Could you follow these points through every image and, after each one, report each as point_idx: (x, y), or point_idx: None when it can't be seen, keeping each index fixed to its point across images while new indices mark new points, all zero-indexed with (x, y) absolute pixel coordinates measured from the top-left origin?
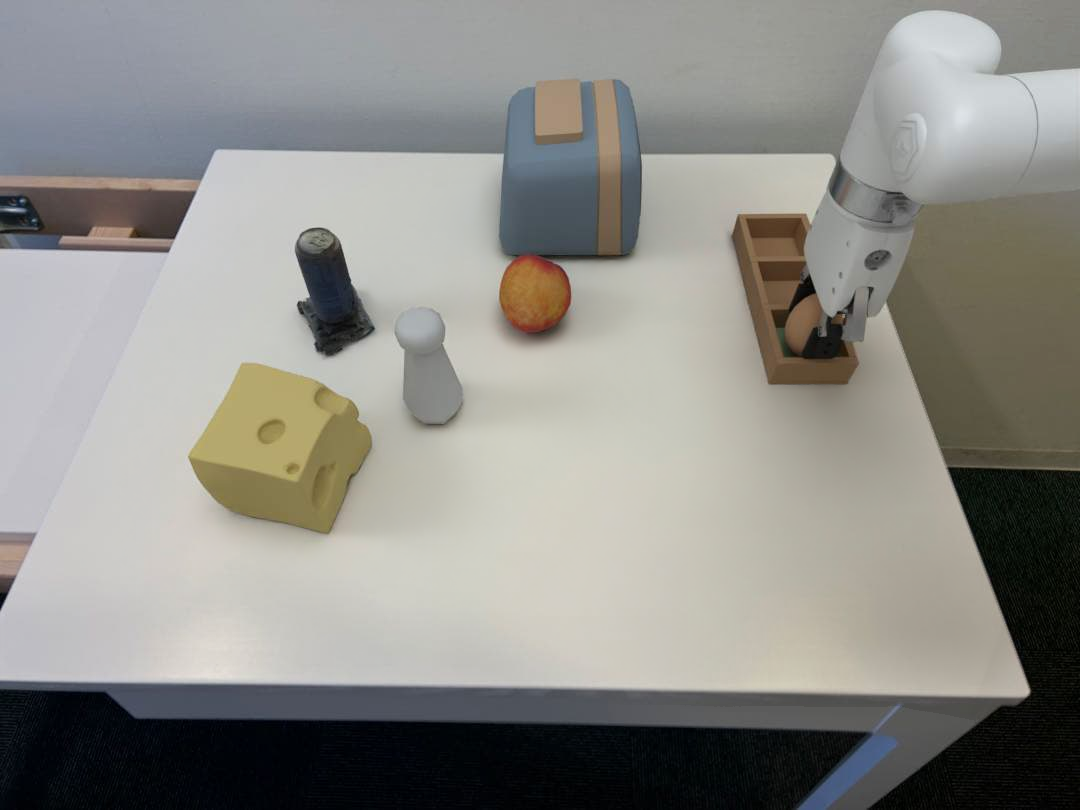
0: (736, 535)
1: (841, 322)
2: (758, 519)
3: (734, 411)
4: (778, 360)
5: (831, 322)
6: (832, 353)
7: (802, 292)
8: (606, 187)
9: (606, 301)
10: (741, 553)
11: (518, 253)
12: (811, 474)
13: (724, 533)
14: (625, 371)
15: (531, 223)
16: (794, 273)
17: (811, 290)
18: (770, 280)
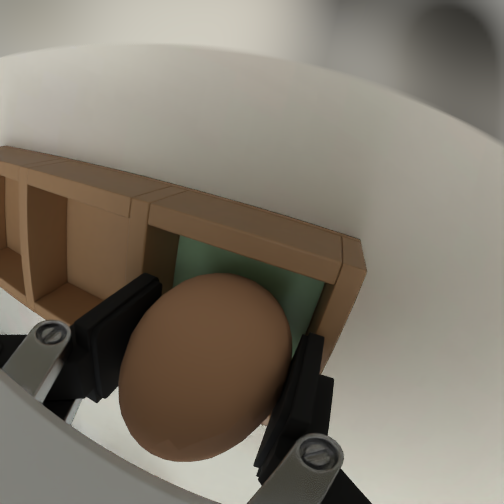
0: (469, 476)
1: (238, 360)
2: (473, 460)
3: None
4: None
5: (244, 423)
6: (332, 390)
7: (110, 389)
8: None
9: (117, 442)
10: (483, 475)
11: None
12: (480, 397)
13: (459, 483)
14: (220, 483)
15: None
16: (53, 213)
17: (103, 376)
18: (66, 248)
